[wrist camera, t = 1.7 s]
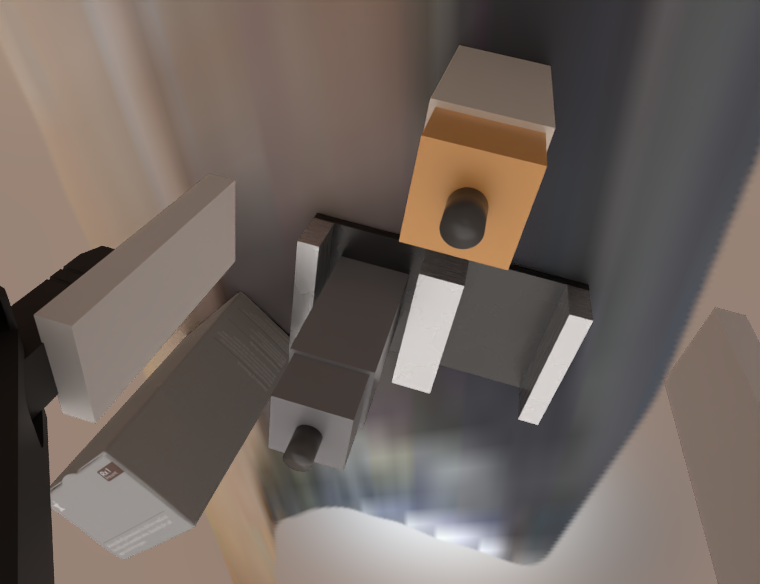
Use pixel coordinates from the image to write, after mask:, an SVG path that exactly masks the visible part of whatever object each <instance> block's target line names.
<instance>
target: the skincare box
mask: <svg viewBox="0 0 760 584" xmlns="http://www.w3.org/2000/svg"><path fill="white" fill-rule="evenodd" d="M289 344H290V337H289V336H288V335H287V334H286V333H285V332H284V331H283V330H282V329H281V328H280V327H278V326H277V325H276V324H275V323H274V322H273V321H272V320H271V319H270V318H269V317H268V316H267V315H266V314H265V313H264V312H263V311H262V310H261V309H260V308H259V307H258V306H257V305H256V304H254V303H253V302H252V301H251V300H250V299H249V298H248V297H247V296H246V295H245V294H244V293H242V292H239V293H237V294H236V295H235V296H233V297H232V298H231V299H230V300H229V301H227V302H226V303H225V304H224V305H223V306H221V307H220V308H219V309H218V310H217V311H215V312H214V313H213V314H212V315H211V316H209V317H208V318H207V319H206V320H205V321H204V322H202V323H201V324H200V325H199V326H198V327H197V328H195V329H194V330H193V331H192V332H191V333H190V334H189V335H187V336H186V337H185V338H184V339H183V340H182V341H181V342H180V344H179V345H178V346H177V347H176V348H175V349H174V350H173V351H172V352H171V354H170V355H169V356H168V357H167V358H166V359H165V360H164V361H163V362H162V364H161V365H160V366H159V367H158V368H157V369H156V370H155V371H154V372H153V373H152V374H151V376H150V377H149V378H148V379H147V380H146V381H145V382H144V383H143V384H142V385H141V386H140V388H139V389H138V390H137V391H136V392H135V393H134V394H133V395H132V396H131V398H130V399H129V400H128V401H127V402H126V403H125V404H124V405H123V406H122V408H120V410H119V411H118V412H117V413H116V414H115V415H114V416H113V417H112V418H111V419H110V421H109V422H108V423H107V424H106V425H105V426H104V427H103V428H102V429H101V430H100V432H99V433H98V434H97V435H96V436H95V437H94V438H93V439H92V440H91V441H90V442H89V444H88V445H87V446H86V447H85V448H84V449H83V450H82V451H81V452H80V453H79V455H78V456H77V457H76V458H75V459H74V460H73V461H72V462H71V463H70V464H69V466H68V467H67V468H66V469H65V470H64V471H63V472H62V473H61V474H60V475H59V477H58V478H57V479H56V480H55V481H54V482H53V483H52V484H51V486H50V498H51V508H52V509H54V510H55V511H56V512H58V513H59V514H60V515H62V516H63V517H65V518H66V519H67V520H69V521H70V522H72V523H73V524H74V525H75V526H77V527H78V528H79V529H81V530H82V531H83V532H84V533H86V534H87V535H88V536H89V537H91V538H92V539H93V540H94V541H96V542H97V543H98V544H100V545H101V546H102V547H104V548H105V549H106V550H108V551H109V552H111V553H112V554H114V555H115V556H117V557H119V558H121V559H123V560H125V559H127V558H129V557H132V556H134V555H136V554H138V553H140V552H143V551H145V550H147V549H149V548H151V547H154V546H156V545H158V544H161V543H163V542H165V541H167V540H169V539H171V538H173V537H175V536H177V535H179V534H181V533H184V532H186V531H188V530H190V529H192V528H195V527H196V524H197V522H198V520H199V518H200V517H201V515H202V513H203V511H204V510H205V508H206V506H207V505H208V503H209V501H210V499H211V498H212V496H213V494H214V492H215V491H216V489H217V487H218V486H219V484H220V482H221V480H222V479H223V477H224V475H225V474H226V472H227V470H228V469H229V467H230V465H231V464H232V462H233V460H234V458H235V457H236V455H237V453H238V452H239V450H240V448H241V447H242V445H243V443H244V442H245V440H246V438H247V436H248V435H249V433H250V431H251V430H252V428H253V426H254V425H255V423H256V421H257V420H258V418H259V416H260V415H261V413H262V411H263V409H264V408H265V406H266V404H267V403H268V401H269V399H270V397H271V395H272V393H273V391H274V390H275V388H276V386H277V384H278V382H279V380H280V379H281V377H282V375H283V373H284V371H285V369H286V367H287V366H288V364H289Z"/></svg>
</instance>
